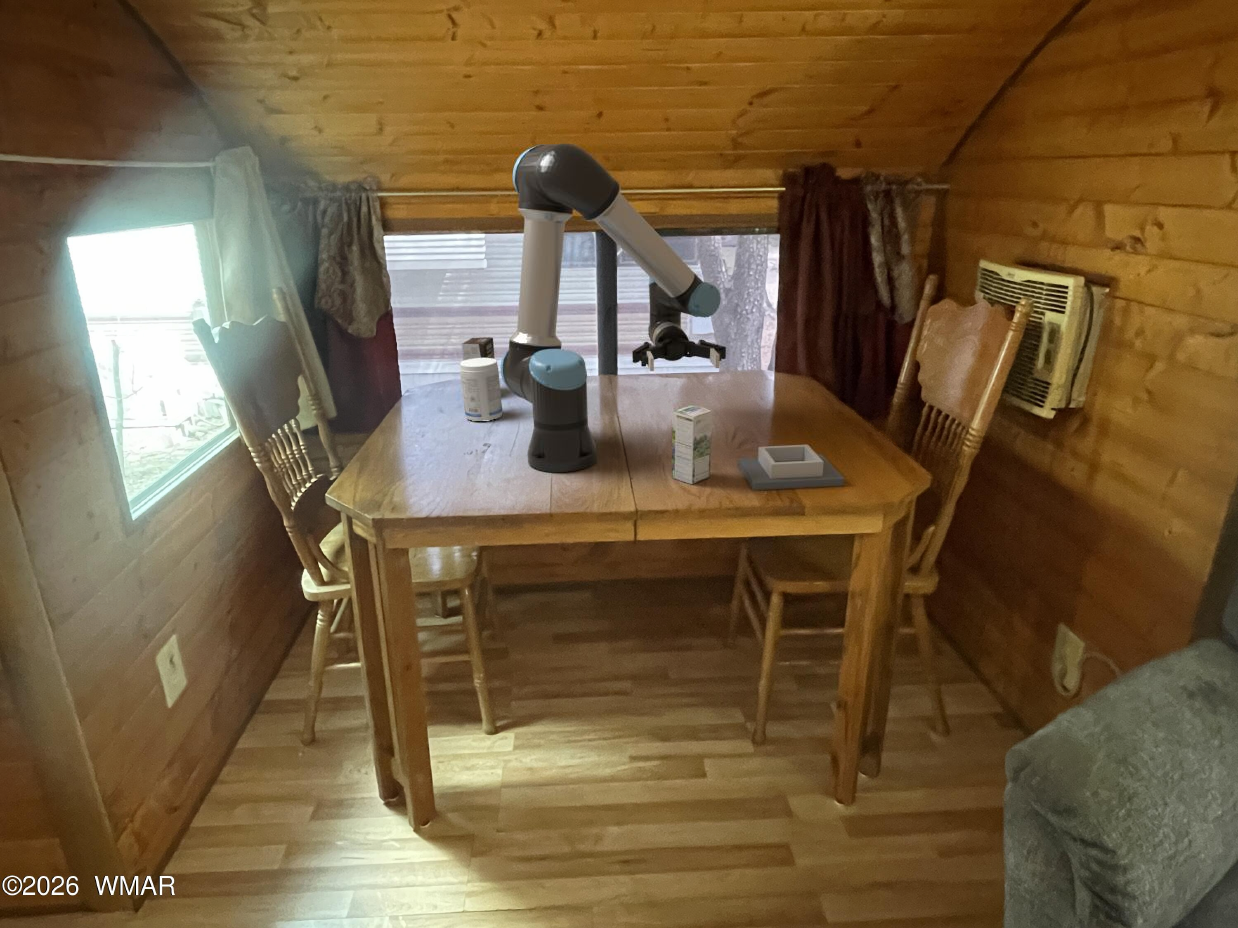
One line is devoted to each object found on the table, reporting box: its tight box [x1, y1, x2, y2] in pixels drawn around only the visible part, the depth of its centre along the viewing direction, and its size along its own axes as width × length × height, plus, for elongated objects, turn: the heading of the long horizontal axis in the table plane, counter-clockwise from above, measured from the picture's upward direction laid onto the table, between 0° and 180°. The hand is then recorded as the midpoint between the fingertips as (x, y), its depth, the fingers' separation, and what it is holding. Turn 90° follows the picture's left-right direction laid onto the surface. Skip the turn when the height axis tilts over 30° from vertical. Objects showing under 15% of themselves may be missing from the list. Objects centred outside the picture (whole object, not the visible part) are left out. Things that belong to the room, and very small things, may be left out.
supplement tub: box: [459, 358, 503, 422], centre depth 201 cm, size 10×10×15 cm
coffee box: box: [461, 336, 496, 361], centre depth 220 cm, size 9×6×16 cm
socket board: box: [737, 444, 845, 491], centre depth 161 cm, size 18×14×4 cm
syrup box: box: [671, 405, 713, 485], centre depth 159 cm, size 6×6×14 cm
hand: (684, 363), depth 163 cm, fingers open, 13 cm apart
